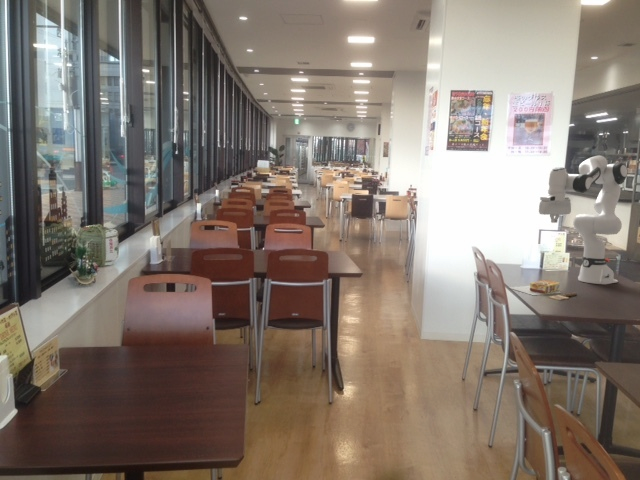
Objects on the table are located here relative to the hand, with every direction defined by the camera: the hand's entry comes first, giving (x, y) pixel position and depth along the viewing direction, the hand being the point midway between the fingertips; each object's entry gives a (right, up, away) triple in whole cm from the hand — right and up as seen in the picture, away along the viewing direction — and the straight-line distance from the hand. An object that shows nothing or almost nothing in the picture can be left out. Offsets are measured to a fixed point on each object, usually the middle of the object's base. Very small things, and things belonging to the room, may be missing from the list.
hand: (554, 222), depth 322 cm
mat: (-14, -36, -10) cm, 40 cm away
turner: (-4, -39, -24) cm, 46 cm away
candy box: (-3, -34, -6) cm, 34 cm away
